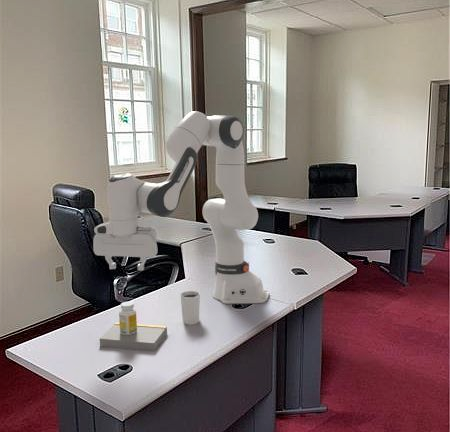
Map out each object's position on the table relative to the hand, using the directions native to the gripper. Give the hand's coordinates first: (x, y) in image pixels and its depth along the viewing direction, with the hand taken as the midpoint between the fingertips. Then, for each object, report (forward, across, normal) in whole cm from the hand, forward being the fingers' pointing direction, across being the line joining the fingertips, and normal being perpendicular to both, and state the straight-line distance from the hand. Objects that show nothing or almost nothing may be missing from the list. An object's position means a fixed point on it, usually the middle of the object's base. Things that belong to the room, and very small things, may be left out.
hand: (126, 269), depth 145 cm
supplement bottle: (+21, 0, +1) cm, 21 cm away
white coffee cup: (+24, -16, -16) cm, 32 cm away
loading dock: (+23, -2, +2) cm, 23 cm away
